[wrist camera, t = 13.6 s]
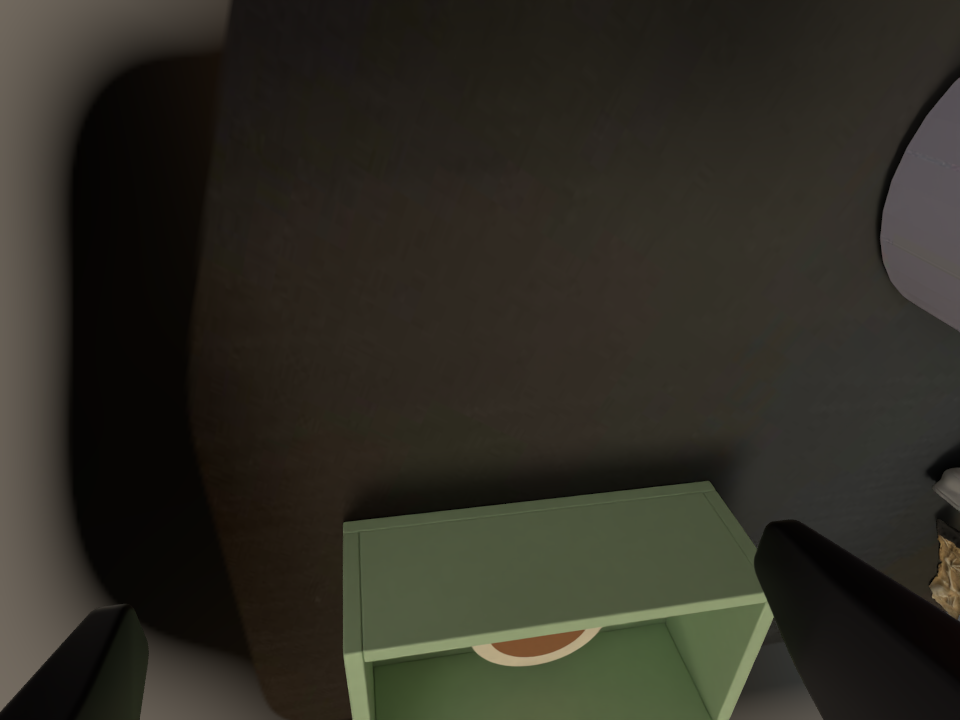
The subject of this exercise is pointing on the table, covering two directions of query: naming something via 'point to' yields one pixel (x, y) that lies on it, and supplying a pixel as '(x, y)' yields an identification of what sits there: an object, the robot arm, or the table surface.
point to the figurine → (949, 487)
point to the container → (927, 214)
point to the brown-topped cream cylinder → (535, 648)
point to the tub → (554, 608)
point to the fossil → (948, 570)
